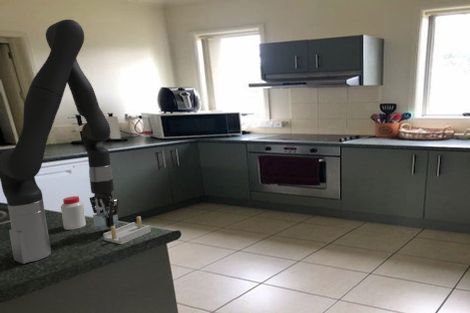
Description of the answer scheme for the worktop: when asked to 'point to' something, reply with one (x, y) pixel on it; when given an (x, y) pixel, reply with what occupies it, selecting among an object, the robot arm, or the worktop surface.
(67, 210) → the pill bottle
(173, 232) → the worktop surface
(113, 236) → the white peg stand
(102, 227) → the block
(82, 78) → the robot arm
